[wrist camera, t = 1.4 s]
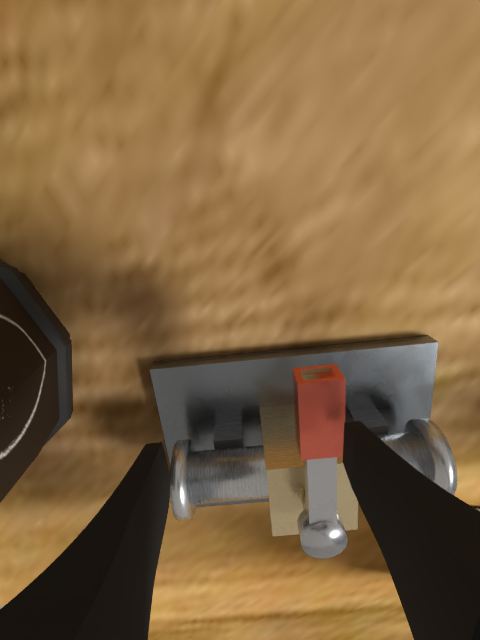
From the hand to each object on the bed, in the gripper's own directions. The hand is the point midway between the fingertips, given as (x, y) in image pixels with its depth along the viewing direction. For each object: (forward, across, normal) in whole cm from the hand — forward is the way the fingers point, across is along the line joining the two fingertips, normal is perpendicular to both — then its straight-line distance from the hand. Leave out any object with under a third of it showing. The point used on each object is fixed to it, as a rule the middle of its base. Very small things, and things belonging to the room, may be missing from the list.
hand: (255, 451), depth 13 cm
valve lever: (+3, -3, +3) cm, 5 cm away
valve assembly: (+11, -4, +8) cm, 14 cm away
